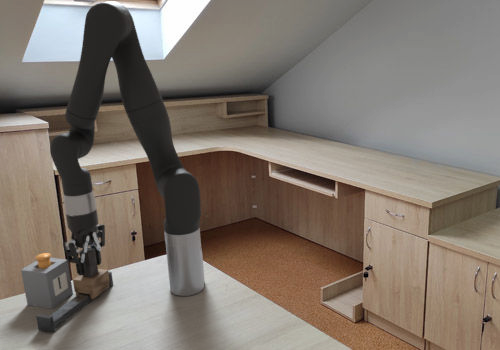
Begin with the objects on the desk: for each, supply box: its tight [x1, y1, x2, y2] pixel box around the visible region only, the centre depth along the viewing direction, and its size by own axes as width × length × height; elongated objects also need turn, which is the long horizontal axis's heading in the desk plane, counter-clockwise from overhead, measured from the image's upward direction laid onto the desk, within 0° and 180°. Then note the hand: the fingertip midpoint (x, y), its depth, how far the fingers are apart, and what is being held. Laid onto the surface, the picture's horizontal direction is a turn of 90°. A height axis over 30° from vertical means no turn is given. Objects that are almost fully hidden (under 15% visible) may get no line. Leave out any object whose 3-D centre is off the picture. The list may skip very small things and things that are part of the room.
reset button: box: [35, 252, 52, 269], centre depth 124 cm, size 4×4×6 cm
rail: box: [35, 271, 114, 334], centre depth 122 cm, size 24×4×4 cm, turn 160°
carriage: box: [72, 247, 110, 300], centre depth 126 cm, size 7×6×12 cm
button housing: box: [20, 257, 74, 310], centre depth 125 cm, size 8×9×10 cm
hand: (89, 269), depth 126 cm, fingers open, 5 cm apart
